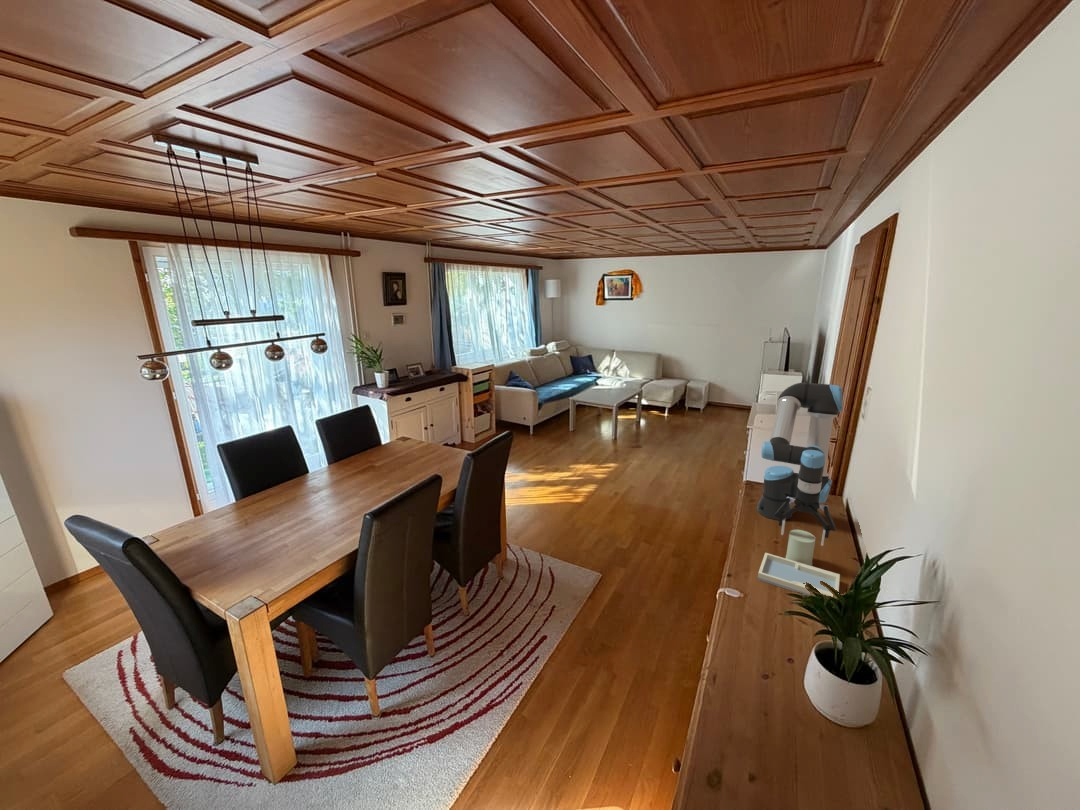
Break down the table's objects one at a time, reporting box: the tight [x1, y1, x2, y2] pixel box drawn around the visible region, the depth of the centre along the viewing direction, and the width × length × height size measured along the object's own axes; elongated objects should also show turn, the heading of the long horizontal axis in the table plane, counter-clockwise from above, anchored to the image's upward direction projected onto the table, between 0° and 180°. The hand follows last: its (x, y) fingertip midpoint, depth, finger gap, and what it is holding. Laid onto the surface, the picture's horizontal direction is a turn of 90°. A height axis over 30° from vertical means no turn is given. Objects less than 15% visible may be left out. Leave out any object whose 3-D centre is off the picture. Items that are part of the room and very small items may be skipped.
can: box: [785, 529, 817, 566], centre depth 168 cm, size 9×9×12 cm
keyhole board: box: [757, 552, 841, 597], centre depth 159 cm, size 15×25×3 cm, turn 54°
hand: (801, 538), depth 167 cm, fingers open, 13 cm apart
